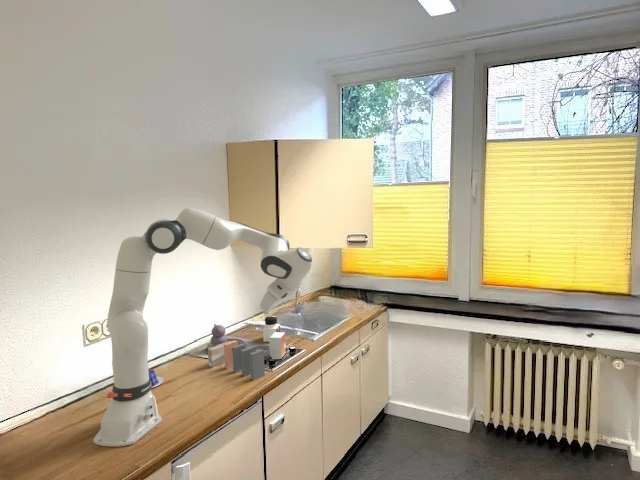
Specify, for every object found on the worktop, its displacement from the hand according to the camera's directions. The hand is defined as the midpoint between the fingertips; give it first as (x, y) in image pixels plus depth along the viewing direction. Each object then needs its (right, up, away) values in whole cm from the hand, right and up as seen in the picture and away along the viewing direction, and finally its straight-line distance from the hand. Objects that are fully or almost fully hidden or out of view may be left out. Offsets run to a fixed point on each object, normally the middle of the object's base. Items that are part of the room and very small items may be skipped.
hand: (272, 308), depth 177 cm
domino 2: (-12, -29, +13) cm, 34 cm away
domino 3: (-7, -30, +9) cm, 32 cm away
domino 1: (-16, -29, +16) cm, 37 cm away
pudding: (-52, -32, +6) cm, 61 cm away
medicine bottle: (-6, -24, +53) cm, 58 cm away
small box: (-1, -27, +30) cm, 40 cm away
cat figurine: (-31, -26, +41) cm, 58 cm away
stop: (-26, -28, +25) cm, 46 cm away
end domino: (-20, -29, +20) cm, 40 cm away
